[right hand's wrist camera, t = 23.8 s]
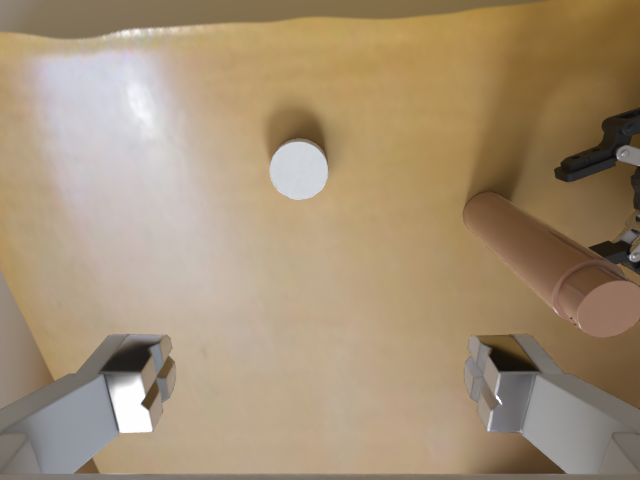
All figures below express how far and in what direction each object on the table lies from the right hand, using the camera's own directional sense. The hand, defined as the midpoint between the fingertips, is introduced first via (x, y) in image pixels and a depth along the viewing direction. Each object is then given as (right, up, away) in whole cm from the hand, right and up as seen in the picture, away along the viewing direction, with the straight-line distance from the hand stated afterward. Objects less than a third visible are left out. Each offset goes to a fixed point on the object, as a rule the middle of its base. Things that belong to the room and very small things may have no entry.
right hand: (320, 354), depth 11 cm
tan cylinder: (+17, +6, +29) cm, 34 cm away
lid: (-2, +10, +26) cm, 28 cm away
